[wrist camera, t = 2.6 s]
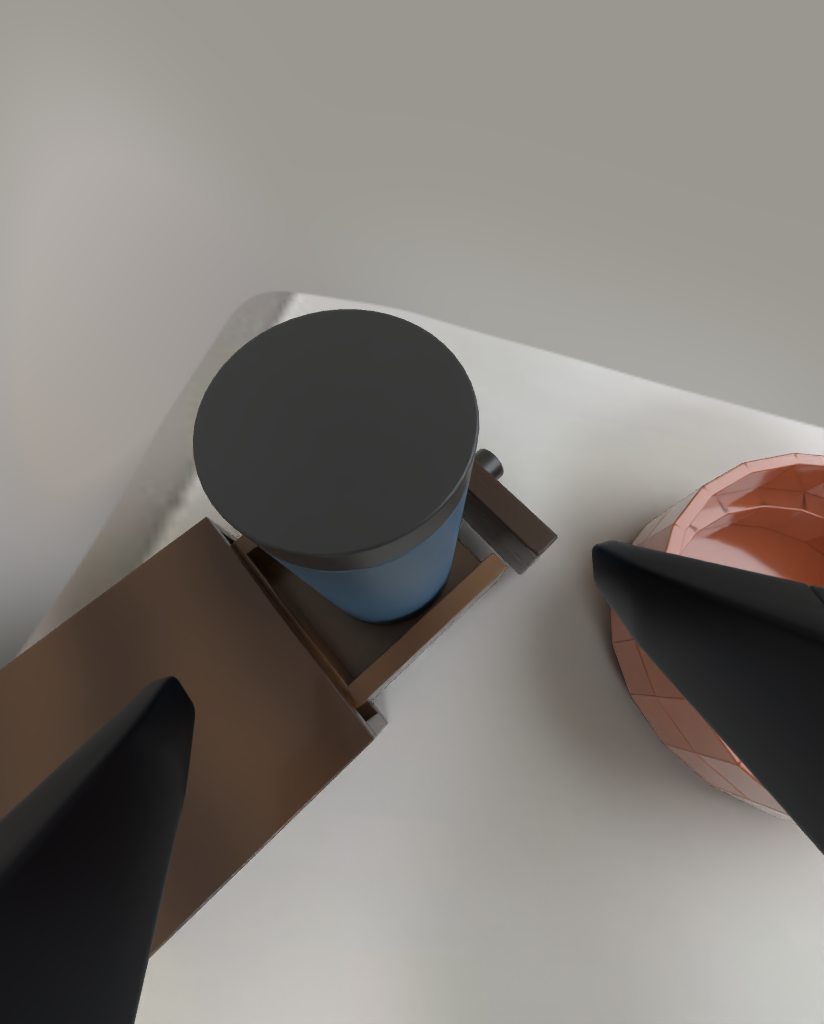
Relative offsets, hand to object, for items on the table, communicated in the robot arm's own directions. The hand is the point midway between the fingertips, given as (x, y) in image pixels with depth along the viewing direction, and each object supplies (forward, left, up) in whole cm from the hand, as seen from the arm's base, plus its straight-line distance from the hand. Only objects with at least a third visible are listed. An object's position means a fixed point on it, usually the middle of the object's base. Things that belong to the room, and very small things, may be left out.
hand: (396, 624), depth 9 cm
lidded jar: (+3, -2, -9) cm, 10 cm away
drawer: (+3, -3, -10) cm, 11 cm away
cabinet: (+4, +8, -11) cm, 14 cm away
